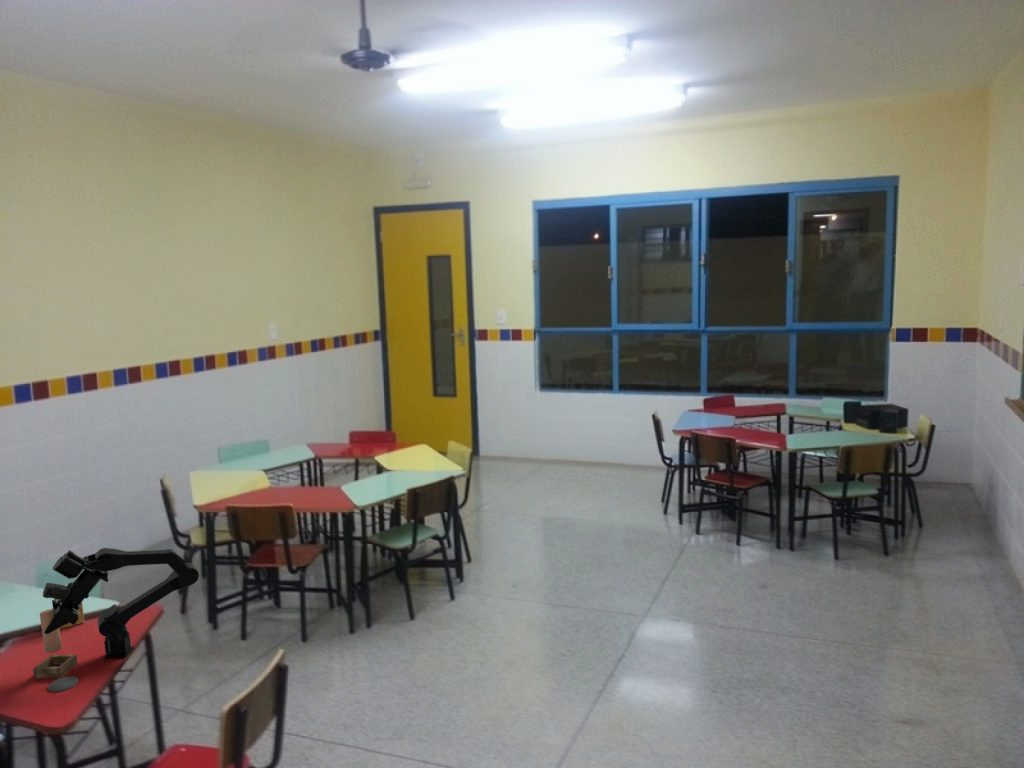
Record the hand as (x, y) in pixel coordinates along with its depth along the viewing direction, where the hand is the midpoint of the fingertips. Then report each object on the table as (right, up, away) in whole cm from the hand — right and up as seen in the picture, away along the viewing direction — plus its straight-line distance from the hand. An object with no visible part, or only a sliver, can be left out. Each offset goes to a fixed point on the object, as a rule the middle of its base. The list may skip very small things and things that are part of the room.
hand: (45, 630), depth 227 cm
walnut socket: (+2, -13, +3) cm, 14 cm away
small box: (-13, -9, +35) cm, 39 cm away
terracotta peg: (+1, -6, +2) cm, 7 cm away
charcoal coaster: (+9, -14, -6) cm, 18 cm away
